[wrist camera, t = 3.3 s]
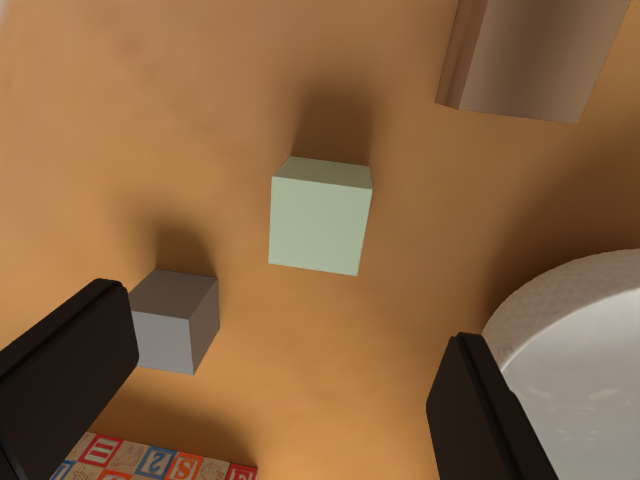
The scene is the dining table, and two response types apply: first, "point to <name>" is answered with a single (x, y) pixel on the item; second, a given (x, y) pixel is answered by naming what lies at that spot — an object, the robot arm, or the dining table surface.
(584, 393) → the cereal bowl
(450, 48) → the walnut cube
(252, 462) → the dining table surface
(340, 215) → the sage green cube
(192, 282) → the gray cube
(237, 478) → the stack of blocks
